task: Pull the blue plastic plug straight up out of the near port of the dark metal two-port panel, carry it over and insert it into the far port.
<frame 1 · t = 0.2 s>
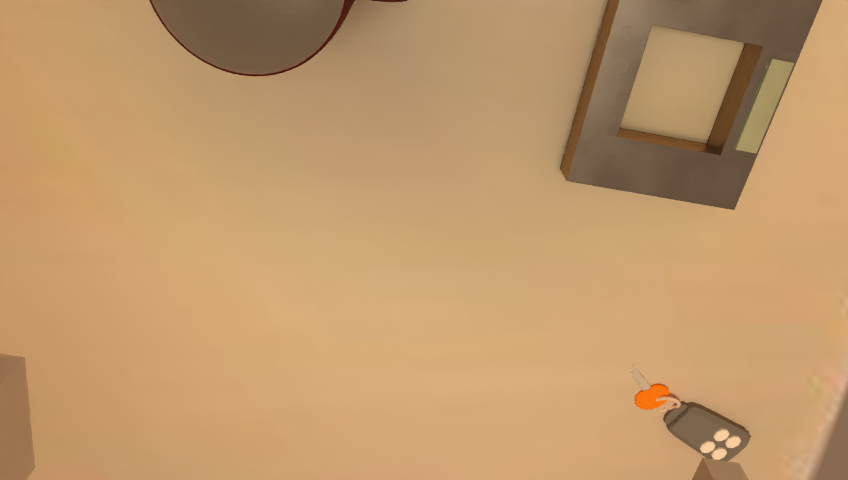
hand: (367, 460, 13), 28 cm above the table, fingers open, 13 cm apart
key chain: (667, 400, 48), on the table
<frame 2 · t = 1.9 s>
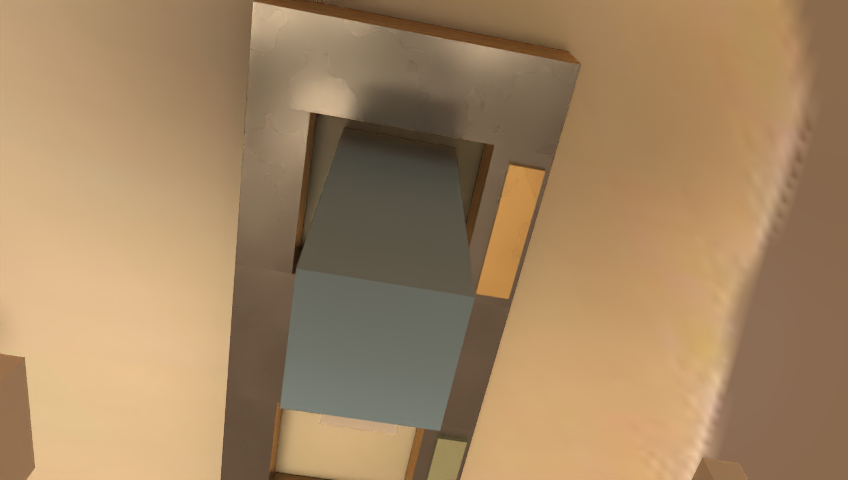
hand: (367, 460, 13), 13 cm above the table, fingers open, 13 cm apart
panel: (366, 323, 27), on the table
plug: (390, 189, 25), resting in panel
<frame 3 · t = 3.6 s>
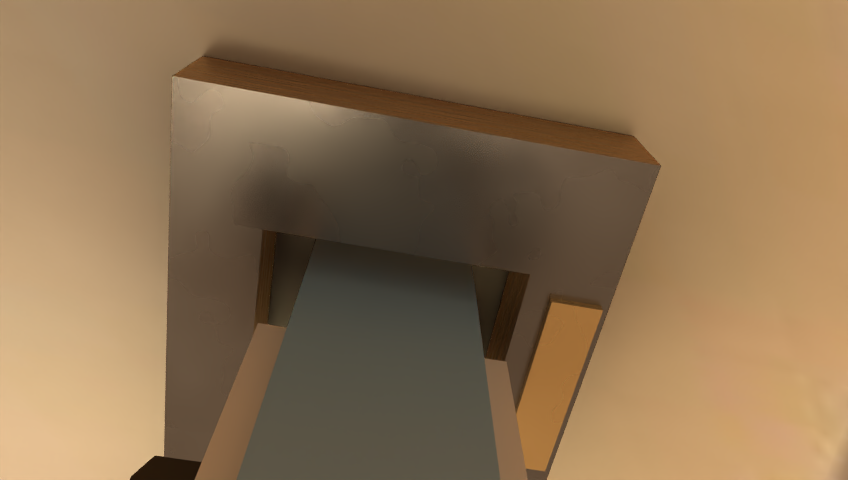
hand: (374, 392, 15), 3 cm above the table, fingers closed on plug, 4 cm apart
panel: (351, 478, 20), on the table
plug: (382, 315, 18), resting in panel, touching gripper
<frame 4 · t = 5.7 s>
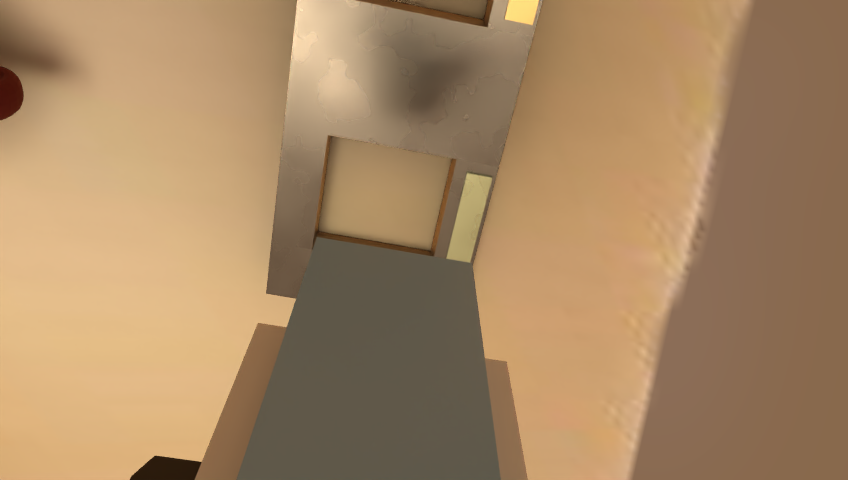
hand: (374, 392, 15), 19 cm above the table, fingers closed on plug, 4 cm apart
panel: (405, 72, 31), on the table
plug: (382, 315, 18), point 16 cm above the table, touching gripper
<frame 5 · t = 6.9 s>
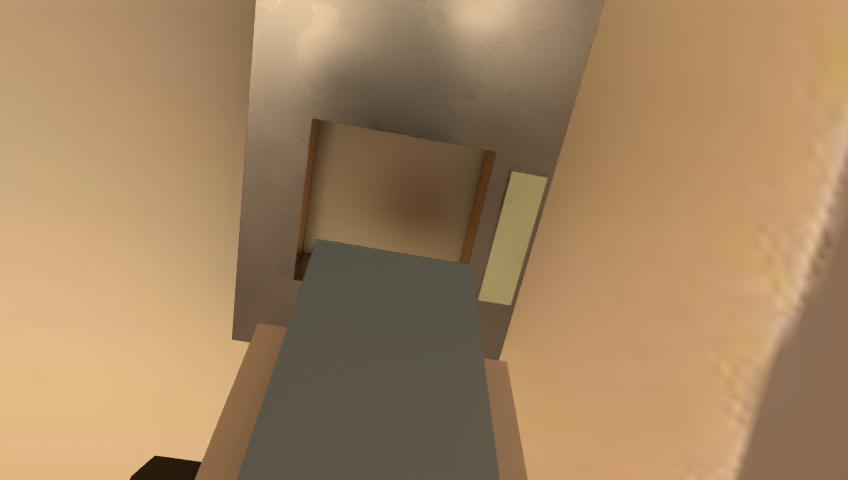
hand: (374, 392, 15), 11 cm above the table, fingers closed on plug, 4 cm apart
panel: (422, 29, 22), on the table
plug: (382, 317, 18), point 8 cm above the table, touching gripper
when the fingers open (4 cm above the table, at t = 8.1 s): plug drops 1 cm, resting in panel.
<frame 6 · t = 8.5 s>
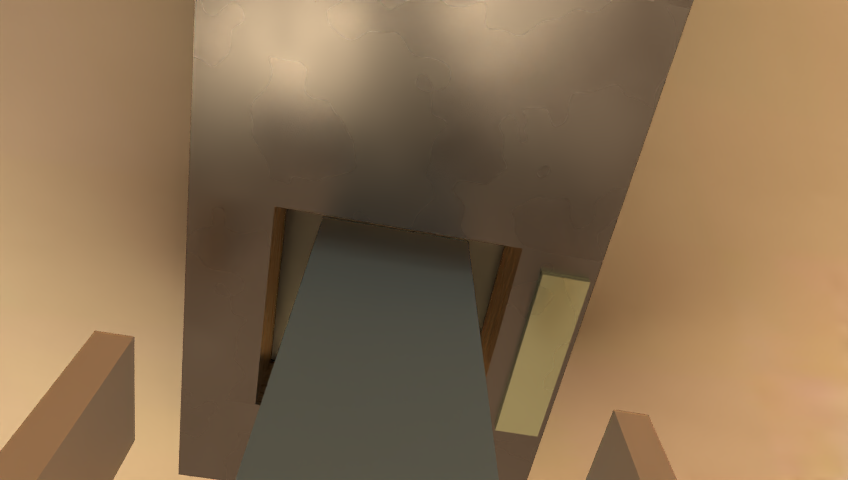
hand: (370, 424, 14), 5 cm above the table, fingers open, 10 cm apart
panel: (424, 84, 16), on the table
plug: (384, 291, 19), resting in panel
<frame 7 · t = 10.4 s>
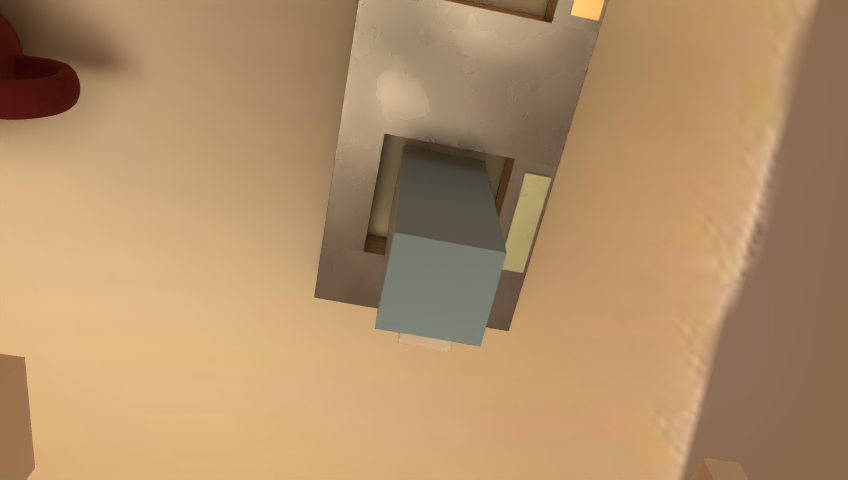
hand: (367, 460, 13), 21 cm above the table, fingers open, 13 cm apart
panel: (463, 71, 31), on the table
mug: (7, 45, 30), on the table
plug: (435, 191, 33), resting in panel
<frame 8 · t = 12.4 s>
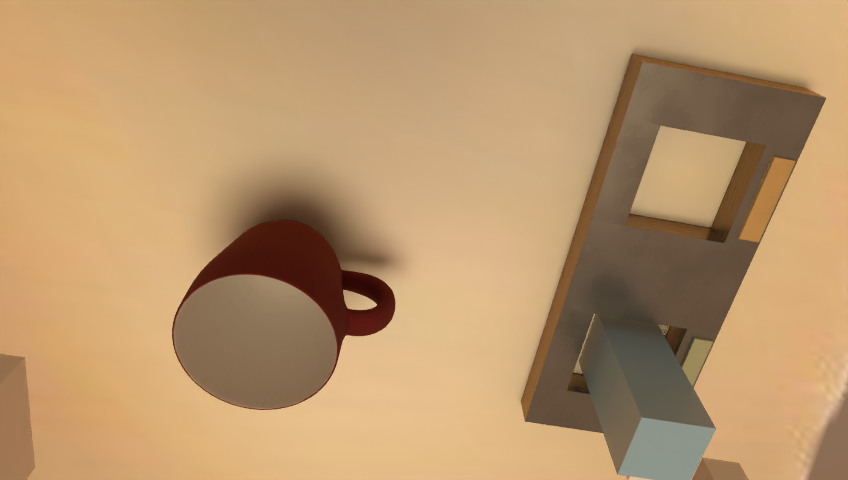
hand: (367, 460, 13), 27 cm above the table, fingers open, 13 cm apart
panel: (647, 263, 41), on the table
mug: (313, 249, 41), on the table
plug: (616, 341, 44), resting in panel
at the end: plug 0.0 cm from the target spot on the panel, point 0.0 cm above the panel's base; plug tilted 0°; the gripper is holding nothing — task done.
